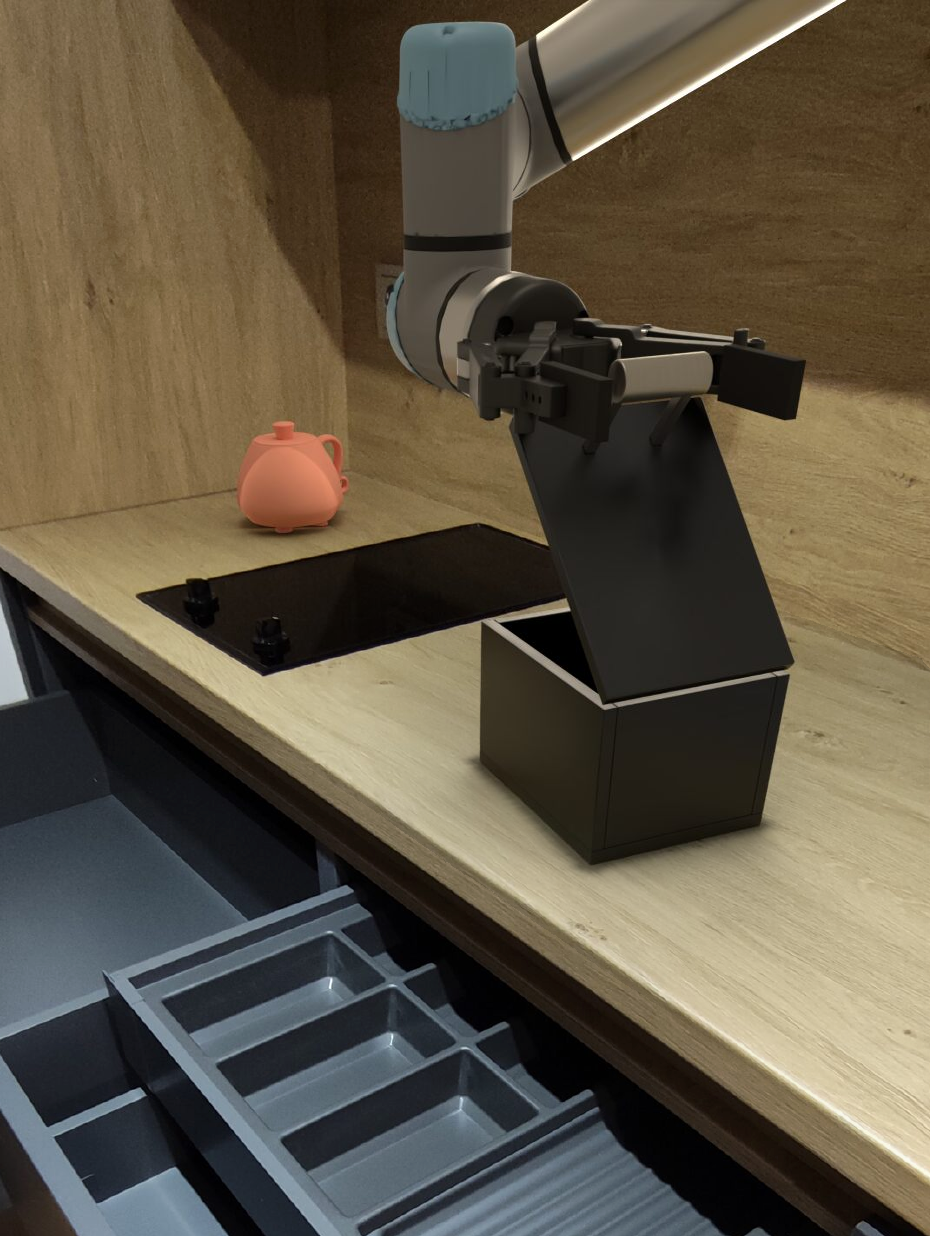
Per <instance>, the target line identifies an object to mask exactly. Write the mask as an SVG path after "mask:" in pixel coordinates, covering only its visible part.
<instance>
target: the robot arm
mask: <svg viewBox="0 0 930 1236" xmlns="http://www.w3.org/2000/svg"><path fill="white" fill-rule="evenodd" d="M844 2H846V0H587V1H586V2H584V3H582V4H581V5H580V6H578V7H576V8H575V9H573V10H571V12H569V13H567V14H566V15H564V16H563V17H561V18H559V19H558V20H557V21H555V22H553V23H552V24H551V25H549V26H548V27H546V28H545V29H544V30H541V31H540V32H538V33H537V34H536V35H535V36H534V37H531V38H530V39H528V40H527V41H524V42H522V43H521V44H519V45H518V46H516V44H517V43H516V38H515V34H514V32H513V30H512V28H510V27H509V26H508V25H507V24H505V23H502V22H496V21H495V22H494V21H452V22H434V23H423V24H417V25H413V26H411V27H410V28H409V29H407V30H406V32H405V33H404V35H403V36H402V39H401V40H400V41H401V42H400V44H399V45H400V46H399V79H398V81H399V83H398V84H399V86H398V92H397V95H396V96H397V97H396V107H397V108H398V112H399V130H400V131H399V132H400V157H401V159H400V161H401V187H402V191H401V192H402V213H403V215H402V217H403V218H402V219H403V248H402V249H403V271H402V272H401V273H400V275H399V276H398V277H397V279H396V280H395V282H394V285H393V287H392V290H391V292H390V295H389V298H388V301H387V306H386V315H385V316H386V321H385V322H386V329H387V336H388V339H389V343H390V345H391V348H392V350H393V352H394V354H395V356H396V357H397V359H398V360H399V361H400V362H401V364H402V365H403V366H404V367H405V368H406V369H407V370H408V371H410V372H411V373H413V374H414V375H416V377H418V378H419V379H420V380H422V381H423V382H425V383H426V384H428V386H434V387H435V388H436V389H440V390H447V391H450V392H453V393H456V394H459V395H462V396H464V397H467V398H469V399H470V401H471V402H472V404H473V406H474V409H475V411H476V413H477V415H478V417H479V418H480V419H483V420H485V421H486V422H492V421H495V420H496V419H500V418H501V417H502V415H503V413H505V414H507V415H510V416H512V418H513V432H514V433H517V434H529V433H533V432H534V424H535V415H539V417H538V421H541V422H544V423H546V424H549V425H551V426H554V427H556V428H559V429H561V430H564V431H567V432H569V433H572V434H574V435H577V436H579V437H582V438H584V439H587V440H590V441H592V442H595V443H599V442H608V441H609V429H610V416H611V403H612V390H613V379H610V378H608V373H609V369H610V367H611V365H612V363H613V362H614V361H615V360H619V359H629V358H640V357H650V356H661V355H671V354H682V353H692V352H703V351H704V352H707V353H708V354H709V355H710V357H711V359H712V363H713V378H712V382H711V385H710V387H709V389H708V391H707V392H706V393H705V394H704V395H714V396H717V397H716V402H719V403H723V404H727V405H729V406H734V407H737V408H741V409H743V410H747V411H750V412H754V413H758V414H761V415H764V416H767V417H771V418H775V419H777V420H781V421H794V420H797V416H798V410H799V404H800V399H801V394H802V388H803V382H804V377H805V371H806V370H805V369H806V363H807V359H804V358H799V357H795V356H790V355H786V354H781V353H777V352H774V351H773V352H772V351H769V350H766V343H767V341H766V340H765V339H761V337H751V338H749V335H750V328H747V327H741V328H738V329H735V330H734V331H733V336H727V335H718V334H711V333H701V332H692V331H683V330H675V329H667V328H663V327H659V326H655V325H654V326H653V325H652V324H650V323H644V324H641V325H639V326H637V325H623V324H621V325H620V324H607V323H605V322H604V321H603V320H602V319H600V318H592V317H590V315H589V312H588V310H587V308H586V306H585V304H584V302H583V300H582V299H581V298H580V296H579V295H578V294H577V293H576V292H575V291H574V289H572V288H571V287H570V286H568V285H567V284H565V283H562V282H560V281H558V280H555V279H551V278H550V279H549V278H546V277H545V278H544V277H539V276H535V275H531V274H528V273H525V272H520V271H515V270H512V246H513V231H512V230H513V228H512V227H513V206H514V205H513V204H514V201H515V200H517V199H519V198H521V197H522V196H524V195H525V194H526V193H528V191H529V190H530V188H531V187H533V186H535V185H537V184H539V183H540V182H542V181H544V180H545V179H547V178H549V177H550V176H552V175H554V174H556V173H557V172H559V171H560V170H562V169H564V168H565V167H567V165H569V164H570V163H573V162H574V161H576V160H578V159H579V158H581V157H582V156H584V155H586V154H588V153H589V152H591V151H593V150H595V149H596V148H598V147H600V146H601V145H603V144H604V143H606V142H609V140H611V139H613V138H616V137H617V136H619V134H622V133H623V132H625V131H627V130H628V129H631V128H632V127H633V126H635V125H637V124H638V123H640V122H642V121H644V120H645V119H647V118H648V117H650V116H652V115H654V114H655V113H657V112H659V111H660V110H662V109H664V108H666V107H667V106H669V105H670V104H672V103H674V102H676V101H677V100H679V99H681V98H683V97H684V96H686V95H688V94H689V93H691V92H693V91H694V90H696V89H698V88H700V87H701V86H703V85H705V84H707V83H708V82H710V81H712V80H713V79H715V78H716V77H719V76H720V75H722V74H723V73H725V72H727V71H728V70H730V69H732V68H733V67H735V66H736V65H738V64H740V63H742V62H743V61H745V60H747V59H749V58H750V57H752V56H754V55H755V54H757V53H759V52H761V51H763V50H764V49H766V48H767V47H769V46H771V45H773V44H774V43H776V42H777V41H779V40H781V39H783V38H785V37H786V36H788V35H789V34H791V33H793V32H794V31H797V30H798V29H800V28H801V27H803V26H805V25H806V24H809V23H810V22H811V21H813V20H815V19H816V18H818V17H820V16H822V15H823V14H825V13H827V12H828V11H830V10H832V9H833V8H835V7H837V6H838V5H840V4H842V3H844Z"/></svg>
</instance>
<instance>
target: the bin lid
mask: <svg viewBox="0 0 930 1236" xmlns="http://www.w3.org/2000/svg"><path fill="white" fill-rule="evenodd" d="M608 378H610V379H613V390H612V403H611V416H610V429H609V441H608V442H599V443H595V442H592V441H590V440H587V439H584V438H582V437H579V436H577V435H574V434H572V433H569V432H567V431H564V430H561V429H559V428H556V427H554V426H551V425H549V424H546V423H544V422H541V421H538V417H539V415H535V424H534V432H533V433H529V434H517V433H514V432H513V417H512V418H511V419H510V422H509V425H508V430H509V433H510V435H511V438H512V442H513V445H514V447H515V450H516V453H517V457H518V459H519V462H520V466H521V468H522V471H523V474H524V477H525V480H526V483H527V486H528V490H529V491H530V495H531V498H532V501H533V504H534V506H535V510H536V514H537V516H538V518H539V522H540V524H541V527H542V531H543V533H544V537H545V540H546V542H547V545H548V548H549V551H550V554H551V557H552V560H553V564H554V566H555V569H556V572H557V575H558V578H559V582H560V584H561V587H562V589H563V593H564V596H565V599H566V602H567V605H568V607H569V608H570V611H571V614H572V617H573V619H574V622H575V625H576V628H577V631H578V634H579V637H580V640H581V643H582V646H583V649H584V652H585V655H586V658H587V661H588V664H589V667H590V670H591V673H592V676H593V679H594V682H595V685H596V688H597V691H598V694H599V696H600V699H601V702H602V705H606V704H612V703H617V702H622V701H627V700H632V699H637V698H643V697H648V696H653V695H658V694H663V693H668V692H674V691H679V690H684V689H689V688H694V687H700V686H705V685H710V684H715V683H720V682H725V681H731V680H736V679H741V678H746V677H751V676H757V675H762V674H767V673H772V672H777V671H782V670H783V671H787V670H789V669H790V668H791V667H793V665H795V659H794V656H793V653H792V651H791V647H790V644H789V641H788V639H787V636H786V634H785V633H786V632H785V630H784V627H783V624H782V622H781V619H780V616H779V613H778V610H777V607H776V605H775V601H774V599H773V596H772V594H771V591H770V588H769V585H768V581H767V579H766V576H765V574H764V571H763V568H762V565H761V561H760V559H759V557H758V554H757V552H756V548H755V545H754V542H753V540H752V537H751V534H750V531H749V528H748V525H747V522H746V519H745V517H744V514H743V511H742V508H741V506H740V502H739V500H738V497H737V494H736V491H735V489H734V486H733V482H732V480H731V476H730V475H729V471H728V468H727V466H726V462H725V460H724V457H723V455H722V451H721V448H720V446H719V443H718V440H717V437H716V434H715V431H714V429H713V425H712V423H711V421H710V420H711V419H710V417H709V414H708V411H707V409H706V406H705V403H704V400H703V398H702V395H703V396H704V395H706V394H705V393H706V392H707V391H708V389H709V387H710V385H711V382H712V378H713V363H712V359H711V357H710V355H709V354H708V353H707V352H704V351H703V352H692V353H682V354H671V355H661V356H650V357H640V358H629V359H619V360H615V361H614V362H613V363H612V365H611V367H610V369H609V373H608ZM693 396H695V397H693ZM657 400H658V401H657ZM648 401H650V402H648ZM638 402H640V403H638ZM641 402H642V403H641ZM629 403H631V404H629Z"/></svg>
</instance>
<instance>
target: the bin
mask: <svg viewBox="0 0 930 1236" xmlns="http://www.w3.org/2000/svg"><path fill="white" fill-rule="evenodd" d="M480 624H481V625H480V687H479V689H480V690H479V691H480V692H479V693H480V694H479V695H480V696H479V704H480V705H479V709H480V710H479V762H480V763H481V764H482V765H483V766H484V767H485V768H486V769H487V770H488V771H490V772H491V773H492V774H493V775H494V776H495V777H496V778H497V779H498V780H499V781H500V782H501V783H503V784H504V786H505V787H507V788H508V790H510V791H511V792H512V793H513V794H514V796H516V797H517V798H518V799H520V800H521V801H522V803H524V804H525V805H526V806H527V807H528V808H529V809H530V810H531V811H532V812H533V813H535V814H536V815H537V816H538V817H539V818H540V819H541V820H542V821H543V822H544V823H545V824H546V825H547V826H548V827H550V828H551V829H552V830H553V831H554V832H555V833H556V835H558V836H559V837H560V838H561V839H562V840H563V841H564V842H566V843H567V844H568V845H569V847H571V848H572V850H574V851H575V852H576V853H577V854H578V855H579V856H581V858H582V859H583V860H584V861H585V862H586V863H588V864H589V865H590V866H592V865H595V864H600V863H604V862H609V861H612V860H617V859H622V858H626V857H630V856H634V855H639V854H642V853H646V852H650V851H651V852H652V851H655V850H659V849H663V848H668V847H671V846H676V845H680V844H684V843H688V842H693V841H697V840H702V839H706V838H709V837H714V836H718V835H722V834H726V833H731V832H734V831H739V830H743V829H747V828H752V827H756V826H760V825H761V824H762V819H763V815H764V814H763V813H764V809H765V804H766V798H767V793H768V789H769V783H770V779H771V773H772V768H773V763H774V758H775V753H776V748H777V744H778V738H779V734H780V733H779V732H780V728H781V722H782V717H783V713H784V707H785V703H786V699H787V692H788V687H789V682H790V677H791V674H790V673H789V672H786V670H782V671H777V672H772V673H767V674H762V675H757V676H751V677H746V678H741V679H736V680H731V681H725V682H720V683H715V684H710V685H705V686H700V687H694V688H689V689H684V690H679V691H674V692H668V693H663V694H658V695H653V696H648V697H643V698H637V699H632V700H627V701H622V702H617V703H612V704H606V705H602V702H601V699H600V696H599V694H598V691H597V688H596V685H595V682H594V679H593V676H592V673H591V670H590V667H589V664H588V661H587V658H586V655H585V652H584V649H583V646H582V643H581V640H580V637H579V634H578V631H577V628H576V625H575V622H574V619H573V617H572V614H571V611H570V608H569V606H568V607H561V608H555V609H549V610H543V611H537V612H530V613H524V614H519V615H512V616H508V617H507V616H506V617H500V618H495V619H487V620H481V622H480Z"/></svg>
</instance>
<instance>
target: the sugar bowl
mask: <svg viewBox="0 0 930 1236" xmlns="http://www.w3.org/2000/svg"><path fill="white" fill-rule="evenodd" d="M272 429H273V431H274V432H271V433H270V432H269V433H264V434H260V435H257V436H255V437H254V438H253V439H252V441H251V442H250V444H249V446H248V448H247V451H246V454H245V456H244V458H243V461H242V463H241V466H240V468H239V473H238V478H237V485H236V500H237V506H238V508H239V510H240V511H241V512H242V513H243V514H244V515H245V516H246V517H247V519H248V520H249V521H250V522H252V523H254V524H256V525H259V526H264V527H271V528H275V532H276V533H278V534H286V533H292V532H293V528H300V527H307V526H314V527H324V526H328V525H329V522H328V521H329V520H331V519H333V517H334V516H335V515H336V514H337V513H338V510H339V509H340V507H341V505H342V503H343V500H344V495H345V494H346V493H347V492H348V491H349V488H350V483H349V480H348V477H346V476H345V475H344V474H343V475H342V469H343V463H344V462H343V461H344V449H343V444H342V443H341V441H340V440H339V439H338V438H337V437H336V436H334V435H332V434H328V433H324V434H321V435H319V436H316V435H314V434H312V433H308V432H301V431H294V430H295V422H293V421H289V420H282V421H276V422H273V423H272ZM326 443H331V444H332V448H333V460H332V458H331V457H330V455H329V453H328V452H327V450H326V448H325V447H324V446H323V444H326Z"/></svg>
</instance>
